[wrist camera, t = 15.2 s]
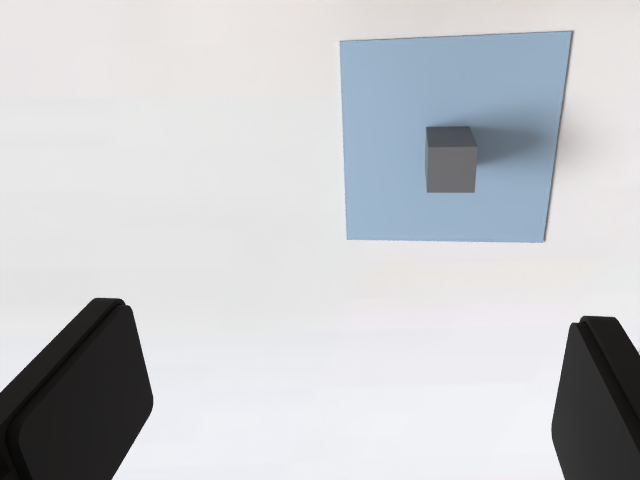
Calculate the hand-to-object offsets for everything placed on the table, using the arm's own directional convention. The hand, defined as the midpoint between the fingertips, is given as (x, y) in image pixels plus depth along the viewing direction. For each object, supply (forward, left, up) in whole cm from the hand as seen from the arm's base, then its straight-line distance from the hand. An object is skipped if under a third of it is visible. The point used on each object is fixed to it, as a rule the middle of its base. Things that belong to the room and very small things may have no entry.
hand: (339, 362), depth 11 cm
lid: (-4, +3, -30) cm, 31 cm away
